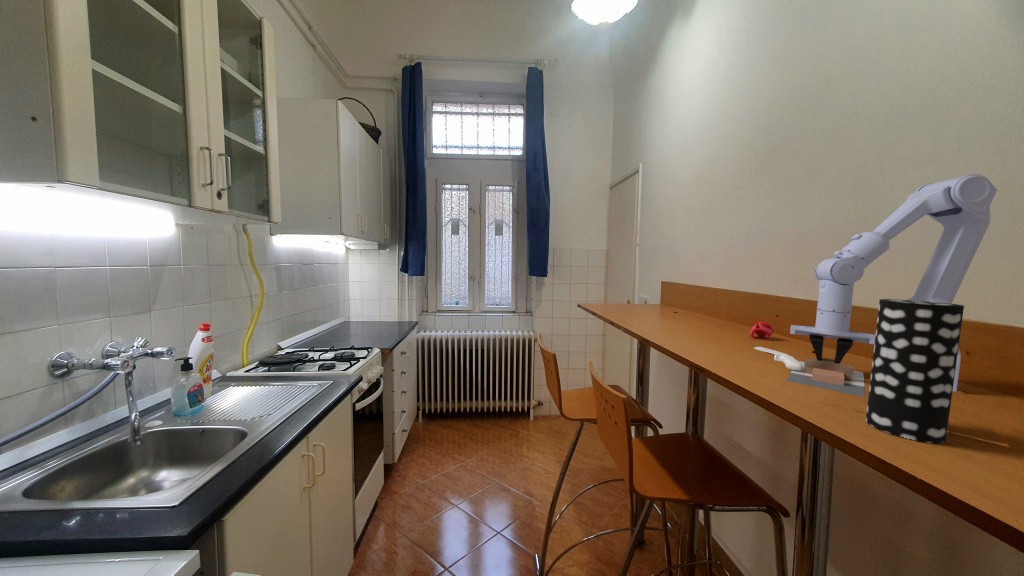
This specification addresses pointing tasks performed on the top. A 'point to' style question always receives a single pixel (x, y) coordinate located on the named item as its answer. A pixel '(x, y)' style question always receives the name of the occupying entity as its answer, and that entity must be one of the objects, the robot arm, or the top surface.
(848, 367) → the pusher
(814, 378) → the tile
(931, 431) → the spotted tube
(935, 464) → the top surface
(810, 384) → the board
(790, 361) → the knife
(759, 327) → the red openwork dome
